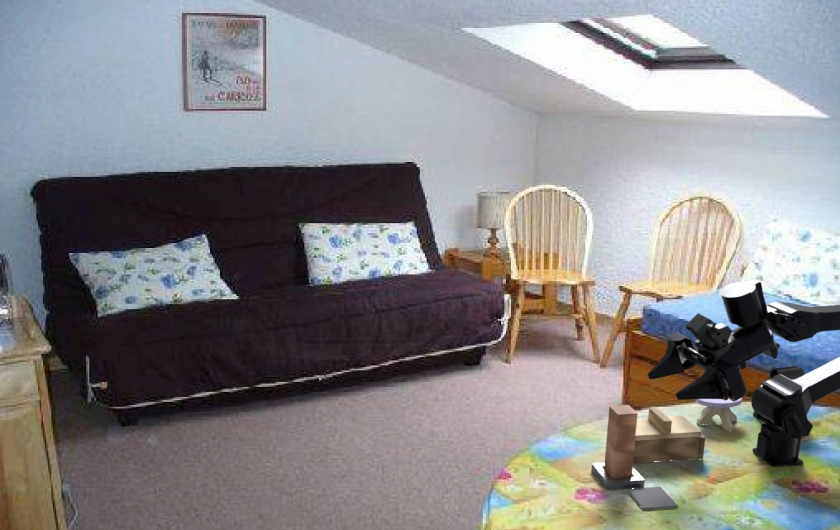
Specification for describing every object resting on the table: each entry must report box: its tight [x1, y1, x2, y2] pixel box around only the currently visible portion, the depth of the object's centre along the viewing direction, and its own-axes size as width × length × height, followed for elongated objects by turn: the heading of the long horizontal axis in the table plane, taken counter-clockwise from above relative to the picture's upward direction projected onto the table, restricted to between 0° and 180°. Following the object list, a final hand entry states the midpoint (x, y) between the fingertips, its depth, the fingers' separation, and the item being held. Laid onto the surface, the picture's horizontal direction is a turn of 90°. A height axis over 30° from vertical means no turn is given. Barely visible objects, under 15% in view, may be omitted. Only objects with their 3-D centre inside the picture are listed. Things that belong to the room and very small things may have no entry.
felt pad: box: [626, 486, 679, 511], centre depth 129 cm, size 6×6×1 cm
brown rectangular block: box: [604, 404, 639, 478], centre depth 134 cm, size 4×4×13 cm
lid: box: [635, 406, 702, 441], centre depth 144 cm, size 13×7×3 cm, turn 100°
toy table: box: [695, 397, 743, 432], centre depth 159 cm, size 10×9×6 cm
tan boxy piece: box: [633, 433, 706, 465], centre depth 145 cm, size 14×7×4 cm, turn 100°
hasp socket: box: [591, 462, 646, 491], centre depth 135 cm, size 7×7×2 cm
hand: (662, 386), depth 135 cm, fingers open, 9 cm apart
